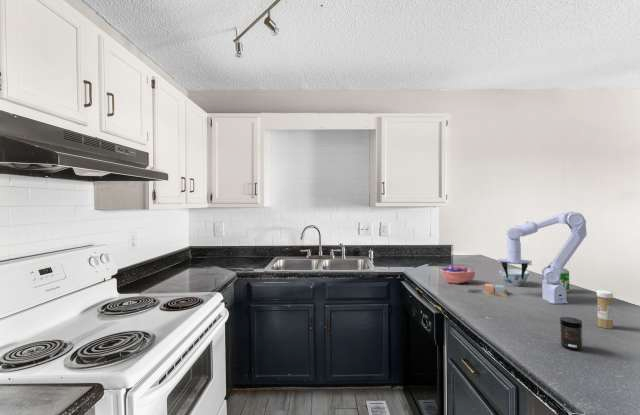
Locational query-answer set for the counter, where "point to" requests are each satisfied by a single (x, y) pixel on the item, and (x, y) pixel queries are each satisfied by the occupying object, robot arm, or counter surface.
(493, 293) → the maple chute
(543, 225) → the robot arm
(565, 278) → the soda can
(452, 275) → the cell model
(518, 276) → the chinaware
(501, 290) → the grey-blue block
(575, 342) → the supplement container
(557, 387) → the counter surface
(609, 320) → the sprinkles bottle
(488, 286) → the terracotta block
